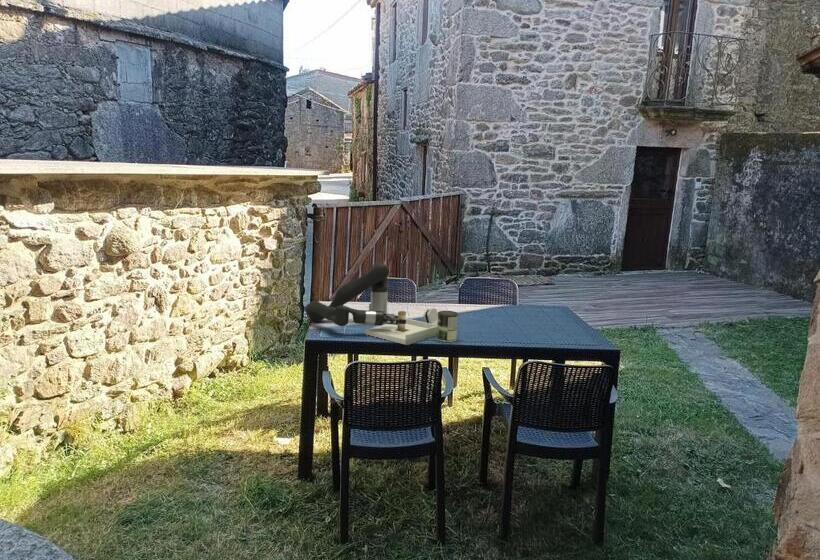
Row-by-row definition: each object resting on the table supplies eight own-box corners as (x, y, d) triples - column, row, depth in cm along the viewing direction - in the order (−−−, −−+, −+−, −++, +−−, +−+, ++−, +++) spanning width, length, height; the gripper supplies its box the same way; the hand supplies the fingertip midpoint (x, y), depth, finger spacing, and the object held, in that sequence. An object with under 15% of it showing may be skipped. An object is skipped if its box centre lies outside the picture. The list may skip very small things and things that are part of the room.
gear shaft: (395, 334, 331) (396, 311, 329) (400, 332, 335) (401, 310, 332) (401, 335, 329) (402, 313, 327) (406, 334, 332) (407, 312, 330)
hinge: (434, 328, 347) (429, 311, 346) (426, 330, 349) (421, 313, 348) (442, 322, 363) (437, 305, 362) (435, 323, 364) (430, 307, 364)
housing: (364, 334, 328) (364, 325, 327) (397, 325, 350) (398, 316, 350) (407, 345, 312) (407, 335, 311) (439, 334, 334) (439, 325, 333)
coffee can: (436, 341, 320) (438, 314, 318) (436, 336, 330) (437, 310, 328) (457, 342, 320) (458, 315, 318) (456, 337, 330) (457, 311, 328)
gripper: (371, 321, 334) (401, 323, 337) (374, 328, 320) (406, 330, 324) (372, 307, 333) (402, 310, 336) (376, 313, 319) (407, 316, 323)
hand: (404, 320), depth 330 cm, fingers open, 8 cm apart
